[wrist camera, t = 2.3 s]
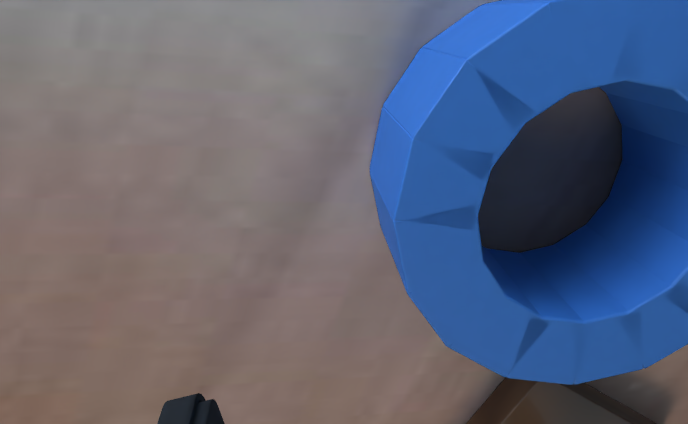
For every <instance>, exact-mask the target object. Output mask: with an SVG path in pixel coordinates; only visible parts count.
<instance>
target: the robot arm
mask: <svg viewBox="0 0 688 424" xmlns="http://www.w3.org/2000/svg"><path fill="white" fill-rule="evenodd" d="M158 424H224V421H223V418H222V416H221V413H220V410H219V408H218V405H217V403H216V401H215V400H214V399H211V400H207V401H205V399H204V397H203V396H202V394H199V393H198V394H194V395H190V396H186V397H182V398H178V399H174V400H170V401H167V402H165V404H164V406H163V408H162V411H161V414H160V418H159V421H158Z"/></svg>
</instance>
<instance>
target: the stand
mask: <svg viewBox="0 0 688 424" xmlns="http://www.w3.org/2000/svg"><path fill="white" fill-rule="evenodd" d="M467 424H656V423H655V422H653V421H651V420H649V419H648V418H646V417H644V416H642V415H640V414H639V413H637V412H635V411H633V410H631V409H630V408H628V407H626V406H624V405H623V404H621V403H619V402H617V401H615V400H614V399H612V398H610V397H608V396H606V395H605V394H603V393H601V392H599V391H598V390H596V389H594V388H592V387H590V386H589V385H587V384H585V383H580V384H573V385H568V384H558V383H549V382H539V381H529V380H520V379H510V378H507V377H506V378H505V379H504V380H503V382H502V383H501V384H500V385H499V386H498V387H497V389H496V390H495V391H494V392H493V393H492V394H491V396H490V397H489V398H488V399H487V400H486V401H485V403H484V404H483V405H482V406H481V407H480V408H479V410H478V411H477V412H476V413H475V414H474V415H473V417H472V418H471V419H470V420H469V421H468V422H467Z"/></svg>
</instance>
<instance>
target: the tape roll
mask: <svg viewBox="0 0 688 424" xmlns="http://www.w3.org/2000/svg"><path fill="white" fill-rule="evenodd" d="M596 87H599V88H601V89H602V90H603V91H605V92H606V94H607V96H608V98H609V100H610V102H611V104H612V106H613V108H614V110H615V112H616V114H617V116H618V119H619V121H620V123H621V125H622V157H623V160H622V162H621V165H620V168H619V170H618V173H617V176H616V179H615V181H614V184H613V187H612V189H611V192H610V195H609V197H608V198H607V200H606V201H605V202H604V203H603V204H602V206H601V207H600V208H599V209H598V211H597V212H596V213H595V214H594V215H593V217H592V218H591V219H590V220H589V221H588V223H587V224H586V225H584V226H583V227H581V228H579V229H578V230H576V231H575V232H573V233H571V234H570V235H568V236H567V237H565V238H564V239H562V240H560V241H559V242H557V243H556V244H554V245H551V246H547V247H542V248H538V249H534V250H529V251H525V252H521V253H517V252H510V251H503V250H496V249H489V248H485V247H484V246H482V245H481V237H480V229H479V221H478V214H479V211H480V207H481V204H482V200H483V197H484V193H485V190H486V186H487V183H488V179H489V176H490V172H491V169H492V167H493V166H494V165H495V163H496V162H497V161H498V159H499V158H500V157H501V155H502V154H503V153H504V151H505V150H506V149H507V147H508V146H509V145H510V143H511V142H512V141H513V139H514V138H515V137H516V135H517V134H518V133H519V131H520V130H521V128H522V127H523V126H524V124H525V123H527V122H528V121H530V120H531V119H533V118H534V117H536V116H537V115H539V114H540V113H542V112H543V111H545V110H546V109H548V108H549V107H551V106H552V105H554V104H555V103H557V102H558V101H560V100H561V99H563V98H564V97H566V96H567V95H569V94H570V93H574V92H578V91H582V90H587V89H591V88H596ZM370 176H371V181H372V186H373V191H374V196H375V201H376V206H377V211H378V216H379V220H380V225H381V229H382V231H383V234H384V236H385V239H386V241H387V244H388V246H389V249H390V251H391V254H392V256H393V259H394V261H395V264H396V266H397V269H398V271H399V274H400V276H401V279H402V281H403V284H404V286H405V289H406V291H407V294H408V295H409V297H410V298H411V299H412V301H413V302H414V303H415V305H416V306H417V307H418V309H419V310H420V312H421V313H422V314H423V316H424V317H425V318H426V320H427V321H428V322H429V324H430V325H431V326H432V328H433V329H434V330H435V332H436V333H437V334H438V336H439V337H440V338H441V340H442V341H443V342H444V344H445V345H446V346H447V347H449V348H450V349H452V350H454V351H456V352H458V353H460V354H462V355H464V356H465V357H467V358H469V359H471V360H473V361H475V362H477V363H478V364H480V365H482V366H484V367H486V368H488V369H490V370H492V371H493V372H495V373H497V374H499V375H501V376H503V377H507V378H510V379H520V380H529V381H539V382H549V383H558V384H568V385H573V384H580V383H585V382H589V381H593V380H598V379H602V378H606V377H611V376H615V375H619V374H624V373H628V372H632V371H637V370H641V369H643V368H647V367H649V366H651V365H652V364H654V363H656V362H658V361H659V360H661V359H663V358H664V357H666V356H668V355H670V354H671V353H673V352H675V351H677V350H678V349H680V348H682V347H684V346H685V345H687V344H688V0H501V1H496V2H492V3H487V4H483V5H481V6H479V7H477V8H476V9H475V10H473V11H472V12H470V13H469V14H467V15H466V16H465V17H463V18H462V19H460V20H459V21H458V22H456V23H455V24H453V25H452V26H451V27H449V28H448V29H446V30H445V31H444V32H442V33H441V34H439V35H438V36H436V37H435V38H434V39H432V40H431V41H429V42H428V43H427V44H425V45H424V46H423V47H422V48H420V50H419V51H418V53H417V54H416V56H415V57H414V59H413V61H412V62H411V64H410V65H409V67H408V68H407V70H406V71H405V73H404V74H403V76H402V77H401V79H400V80H399V82H398V83H397V85H396V86H395V88H394V89H393V91H392V92H391V94H390V95H389V97H388V99H387V100H386V102H385V103H384V105H383V108H382V111H381V116H380V121H379V126H378V131H377V135H376V140H375V145H374V150H373V155H372V160H371V164H370Z"/></svg>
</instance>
